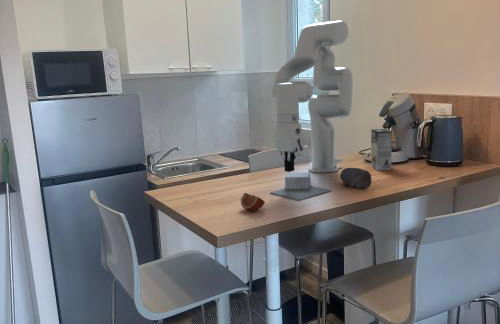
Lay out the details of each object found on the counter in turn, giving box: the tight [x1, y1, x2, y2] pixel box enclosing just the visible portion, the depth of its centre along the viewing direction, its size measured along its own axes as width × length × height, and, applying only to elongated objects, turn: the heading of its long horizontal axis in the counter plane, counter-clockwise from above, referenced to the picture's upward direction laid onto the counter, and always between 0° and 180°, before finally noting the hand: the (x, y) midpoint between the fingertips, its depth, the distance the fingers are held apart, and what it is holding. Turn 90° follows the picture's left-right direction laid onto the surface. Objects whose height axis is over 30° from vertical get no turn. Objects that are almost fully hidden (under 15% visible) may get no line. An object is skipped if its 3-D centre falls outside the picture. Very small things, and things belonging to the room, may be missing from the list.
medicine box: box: [284, 171, 311, 189], centre depth 156 cm, size 8×4×9 cm
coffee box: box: [370, 128, 393, 171], centre depth 180 cm, size 9×6×16 cm
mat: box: [269, 185, 332, 202], centre depth 150 cm, size 16×14×1 cm
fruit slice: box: [240, 192, 266, 212], centre depth 132 cm, size 8×7×5 cm
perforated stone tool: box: [339, 167, 372, 190], centre depth 153 cm, size 15×5×7 cm, turn 22°
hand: (289, 170), depth 153 cm, fingers closed
